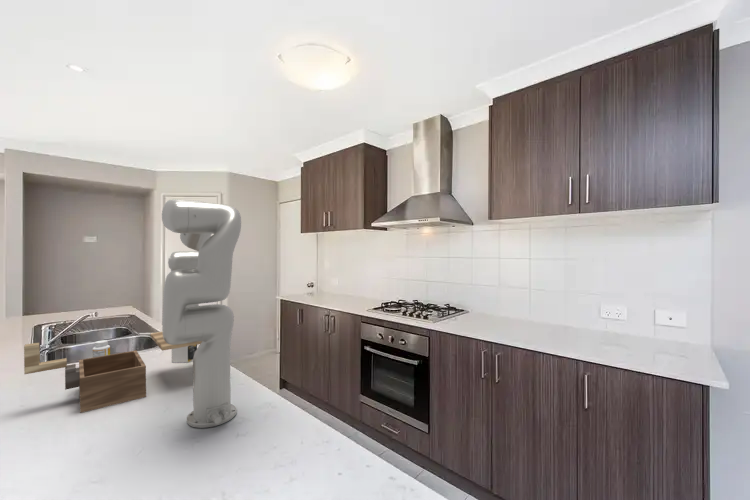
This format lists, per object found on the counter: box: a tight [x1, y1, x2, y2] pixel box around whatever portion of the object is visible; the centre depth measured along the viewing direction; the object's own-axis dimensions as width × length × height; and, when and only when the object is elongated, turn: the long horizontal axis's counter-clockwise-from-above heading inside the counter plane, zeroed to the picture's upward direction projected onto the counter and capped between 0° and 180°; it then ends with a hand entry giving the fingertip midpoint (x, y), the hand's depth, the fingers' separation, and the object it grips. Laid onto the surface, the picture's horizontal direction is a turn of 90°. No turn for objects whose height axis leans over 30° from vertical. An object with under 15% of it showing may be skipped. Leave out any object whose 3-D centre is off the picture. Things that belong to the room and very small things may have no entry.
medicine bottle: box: [171, 345, 198, 364], centre depth 146 cm, size 7×7×12 cm
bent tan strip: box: [23, 342, 68, 375], centre depth 102 cm, size 3×9×8 cm, turn 131°
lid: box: [150, 331, 202, 351], centre depth 127 cm, size 23×17×6 cm
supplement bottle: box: [92, 339, 111, 358], centre depth 138 cm, size 6×6×10 cm
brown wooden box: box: [64, 349, 147, 414], centre depth 112 cm, size 22×19×11 cm
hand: (182, 334), depth 127 cm, fingers closed on lid, 2 cm apart
